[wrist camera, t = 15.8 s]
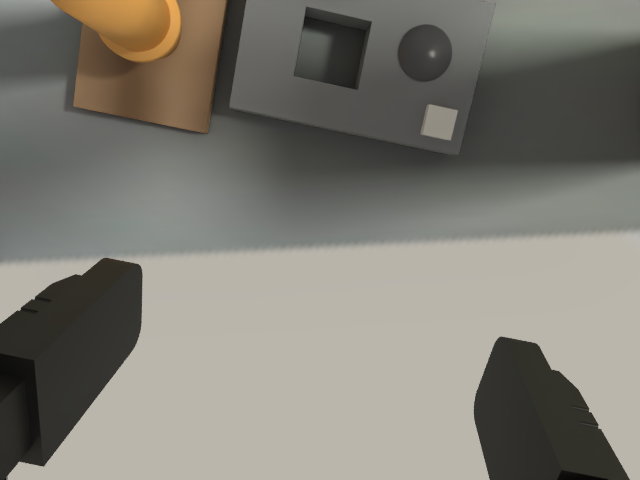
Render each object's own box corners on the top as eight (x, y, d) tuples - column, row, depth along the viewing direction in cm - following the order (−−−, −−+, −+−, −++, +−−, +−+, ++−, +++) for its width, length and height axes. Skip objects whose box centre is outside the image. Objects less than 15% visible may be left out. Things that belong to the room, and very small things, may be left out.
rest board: (235, -45, 33) (234, -51, 32) (207, 133, 35) (205, 133, 34) (99, -77, 32) (93, -84, 31) (79, 107, 34) (72, 106, 33)
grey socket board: (481, 14, 35) (499, 1, 32) (447, 154, 36) (461, 154, 33) (257, -40, 33) (254, -59, 30) (233, 109, 35) (227, 106, 32)
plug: (196, -1, 32) (147, -78, 22) (186, 77, 33) (134, 39, 22) (119, -16, 32) (30, -103, 21) (111, 62, 33) (21, 17, 22)
